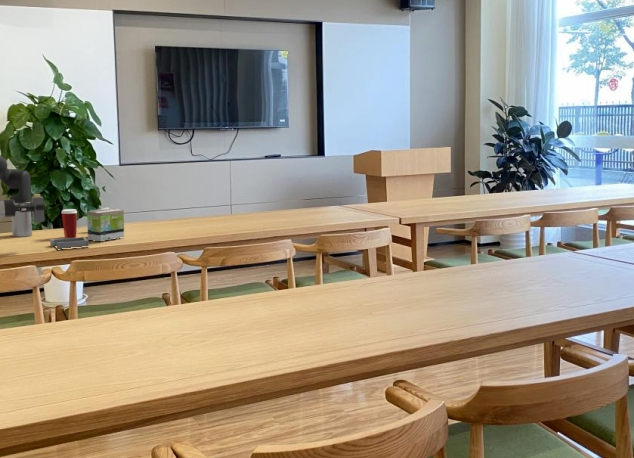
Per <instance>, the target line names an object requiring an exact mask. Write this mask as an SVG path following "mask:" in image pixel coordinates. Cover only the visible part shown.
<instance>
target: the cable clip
mask: <svg viewBox="0 0 634 458" xmlns="http://www.w3.org/2000/svg"><path fill="white" fill-rule="evenodd" d="M54 239H55V238H52V239H49V244H50V245H51V246H55V243H54ZM50 245H49V246H50ZM51 246H50V247H51Z"/></svg>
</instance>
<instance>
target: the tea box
mask: <svg viewBox="0 0 634 458" xmlns="http://www.w3.org/2000/svg"><path fill="white" fill-rule="evenodd" d="M102 209H103V208H102ZM124 211H125V210H123V209H118V208H117V209H116V208H109V209H103V210H96V209H94V210H88V211H87V213H86V214H87V223H86V224H87V240H88V241H89V240H95V241H103V240H109V239H114V238H120V237H124V238H125V224H124V223H125V218H124V214H125V213H124ZM95 241H94V242H95ZM109 241H110V240H109Z"/></svg>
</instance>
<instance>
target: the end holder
mask: <svg viewBox="0 0 634 458" xmlns="http://www.w3.org/2000/svg"><path fill="white" fill-rule="evenodd" d="M53 239H54V243H55V246H57V249H62V248H71V247H82V246H90V245H89V240H88V238H86V237H85V236H81V237H80V236H79V237H76V238H65V237H64V238H53ZM57 249H56V250H57Z"/></svg>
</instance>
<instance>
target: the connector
mask: <svg viewBox="0 0 634 458" xmlns="http://www.w3.org/2000/svg"><path fill="white" fill-rule="evenodd" d="M31 203H32V205H45V204H44V197H43V196H41V194H40V193H34V194H33V196H31ZM31 216H32V222H33V223H40V222H41V223H42V222H44V223H45V210H36V211H34V212H33V211H32V212H31Z"/></svg>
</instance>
